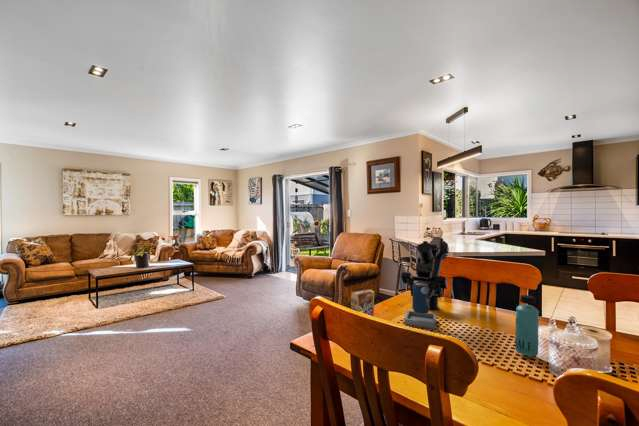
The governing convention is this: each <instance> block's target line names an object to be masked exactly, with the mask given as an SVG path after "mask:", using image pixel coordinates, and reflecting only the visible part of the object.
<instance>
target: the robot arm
mask: <svg viewBox="0 0 639 426" xmlns="http://www.w3.org/2000/svg"><path fill="white" fill-rule="evenodd" d="M416 248H417V249H416V250H417V253H418V256H419V259H420V262H416V263H415V271H416V272H415V274H416V275H413V274H412V272H409V271H401V274H400V277H401V278H400V279H401V281H402V283H403V284H406V285H408V286H409V288H410V289H409V290H410V296H411V297H413V285H414V283H415V282H424V283H427V284H428V286H429V288H430V292H429V296H428V299H430V310H429V311H439V308H440V307H439V299H441V298H443V289H444V290H447V289H448V280H447V277H446V276H445V275H444V276H443V275H442V276H441V275H440V272H441V267H442V264H443V260H445V259H446V258H447V256H448V255H449V254H450V253H449V252H450V248H449V243H448V242H446V241H445V240H444V238H443V237H432V239H431V241H430V242H429V241H427V240H423V242H420V243H419V244H418V245H417V247H416Z"/></svg>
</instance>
